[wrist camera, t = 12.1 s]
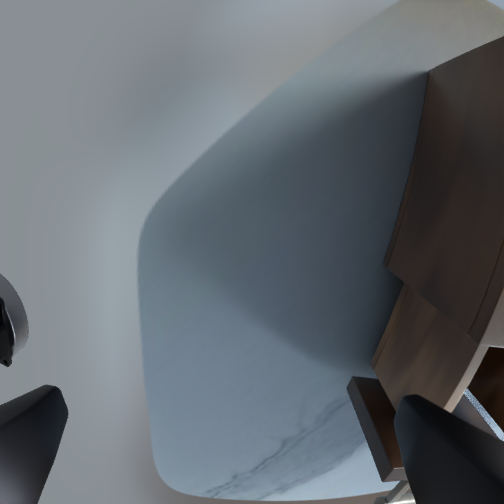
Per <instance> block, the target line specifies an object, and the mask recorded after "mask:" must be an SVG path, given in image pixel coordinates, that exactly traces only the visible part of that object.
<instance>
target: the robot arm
mask: <svg viewBox="0 0 504 504" xmlns="http://www.w3.org/2000/svg"><path fill="white" fill-rule="evenodd" d="M0 363H1V364H3V365H5V366H6V367H9V366H10V365H11V364H12V360H11V353H10V346H9V339H8V331H7V322H6V311H5V303H4V300H3V299H2V298H1V297H0ZM67 418H68V409H67V406H66V403H65V401H64V398H63V395H62V393H61V390H60V389H59V388H58V387H56V386H52V385H43V386H41V387H39V388H37V389H35V390H33V391H31V392H28V393H26V394H24V395H22V396H20V397H18V398H15V399H13V400H11V401H9V402H7V403H4V404H2V405H0V504H37V503H38V501H39V498H40V496H41V493H42V490H43V488H44V485H45V483H46V480H47V478H48V475H49V473H50V470H51V468H52V465H53V463H54V460H55V457H56V454H57V451H58V448H59V444H60V441H61V438H62V434H63V431H64V428H65V425H66V422H67ZM394 428H395V432H396V436H397V440H398V444H399V449H400V453H401V457H402V462H403V466H404V470H405V473H406V476H407V479H408V482H409V485H410V488H411V491H412V494H413V497H414V499H415V502H416V504H504V441H502V440H500V439H498V438H496V437H494V436H492V435H490V434H489V433H487V432H485V431H483V430H481V429H479V428H478V427H476V426H474V425H472V424H470V423H468V422H467V421H465V420H463V419H461V418H459V417H457V416H456V415H454V414H452V413H450V412H449V411H447V410H445V409H443V408H441V407H440V406H438V405H436V404H434V403H433V402H431V401H429V400H427V399H426V398H424V397H422V396H420V395H418V394H411V395H405V396H403V397H402V398H401V400H400V403H399V406H398V409H397V412H396V415H395V418H394Z"/></svg>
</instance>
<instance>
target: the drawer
mask: <svg viewBox="0 0 504 504" xmlns="http://www.w3.org/2000/svg"><path fill="white" fill-rule="evenodd" d="M370 365H371V367H372V369H373V370H374V372H375V374H376V376H377V378H378V379H373V378H364V377H356V376H352V378H351V380H350V382H349V384H348V386H347V391H348V394H349V396H350V399H351V402H352V404H353V407H354V409H355V412H356V414H357V417H358V419H359V422H360V425H361V427H362V430H363V432H364V435H365V438H366V440H367V443H368V446H369V448H370V451H371V454H372V456H373V459H374V462H375V464H376V467H377V470H378V472H379V475H380V478H381V481H382V482H390V481H400V482H399V483H398V484H397V485H396V487H395V488H394V489H393V490H392V491H391V492H390V493H389V494H388V495H387V496H382V497H378V498H377V499H376V500H375V502H374V504H416V502H415V499H414V497H413V494H412V493H409V494H404V493H405V492H406V491H407V490H408V489H409V488H410V485H409V482H408V479H407V476H406V473H405V470H404V466H403V462H402V457H401V453H400V449H399V444H398V440H397V436H396V432H395V428H394V418H395V415H396V412H397V409H398V406H399V403H400V400H401V398H402V397H403V396H405V395H411V394H418V395H420V396H422V397H424V398H426V399H427V400H429V401H431V402H433V403H434V404H436V405H438V406H440V407H441V408H443V409H445V410H447V411H449V412H450V413H452V414H454V415H456V416H457V417H459V418H461V419H463V420H465V421H467V422H468V423H470V424H472V425H474V426H476V427H478V428H479V429H481V430H483V431H485V432H487V433H489V434H490V435H492V436H494V437H496V438H498V437H497V435H496V434H495V433H494V431H493V430H492V429H491V427H490V426H489V425H488V424H487V422H486V421H485V420H484V418H483V417H482V416H481V415H480V413H479V412H478V411H477V410H476V408H475V407H474V406H473V405H472V403H471V402H470V401H469V400H468V398H467V397H466V396H465V395H464V392H465V390H466V388H468V390H469V391H470V392H471V393H472V394H473V395H474V397H475V398H476V399H477V400H478V401H479V403H480V404H481V405H482V406H483V407H484V409H485V410H486V411H487V412H488V414H489V415H490V416H491V417H492V418H493V420H494V421H495V422H496V423H497V425H498V426H499V427H500V428H501V430H502V431H503V432H504V348H499V347H491V346H484V345H478V344H477V343H476V342H474V341H473V340H472V339H471V338H470V337H469V336H467V335H466V334H465V333H464V332H463V331H462V330H461V329H459V328H458V327H457V326H456V325H455V324H454V323H452V322H451V321H450V320H449V319H448V318H447V317H446V316H444V315H443V314H442V313H441V312H440V311H438V310H437V309H436V308H435V307H434V306H433V305H431V304H430V303H429V302H428V301H427V300H425V299H424V298H423V297H422V296H420V295H419V294H418V293H417V292H416V291H414V290H413V289H412V288H411V287H409V286H408V285H407V284H406V283H405V282H404V283H403V286H402V289H401V291H400V294H399V297H398V299H397V302H396V304H395V307H394V309H393V312H392V314H391V317H390V319H389V322H388V324H387V326H386V329H385V331H384V333H383V336H382V338H381V340H380V343H379V345H378V347H377V349H376V351H375V354H374V356H373V358H372V360H371V362H370ZM498 439H499V438H498Z"/></svg>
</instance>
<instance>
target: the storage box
mask: <svg viewBox="0 0 504 504" xmlns="http://www.w3.org/2000/svg"><path fill="white" fill-rule="evenodd" d="M383 266H385V267H386V268H387V269H388V270H390V271H391V272H392V273H393V274H395V275H396V276H397V277H398V278H400V279H401V280H402V281H403V282H405V283H406V284H407V285H408V286H409V287H411V288H412V289H413V290H414V291H416V292H417V293H418V294H419V295H420V296H422V297H423V298H424V299H425V300H427V301H428V302H429V303H430V304H431V305H433V306H434V307H435V308H436V309H437V310H438V311H440V312H441V313H442V314H443V315H444V316H446V317H447V318H448V319H449V320H450V321H451V322H452V323H454V324H455V325H456V326H457V327H458V328H459V329H461V330H462V331H463V332H464V333H465V334H466V335H467V336H469V337H470V338H471V339H472V340H473V341H474V342H476V343H477V344H478V345H484V346H491V347H499V348H504V36H503V37H501V38H498V39H496V40H494V41H491V42H489V43H487V44H484V45H482V46H480V47H478V48H475V49H473V50H471V51H469V52H466V53H464V54H462V55H460V56H458V57H456V58H453V59H451V60H449V61H447V62H445V63H443V64H441V65H439V66H437V67H435V68H433V69H431V70H429V75H428V82H427V89H426V95H425V101H424V107H423V112H422V118H421V123H420V128H419V133H418V138H417V142H416V147H415V152H414V156H413V160H412V165H411V169H410V173H409V177H408V181H407V185H406V189H405V192H404V196H403V200H402V203H401V207H400V210H399V214H398V217H397V221H396V224H395V228H394V231H393V234H392V237H391V240H390V244H389V247H388V250H387V253H386V256H385V259H384V262H383Z"/></svg>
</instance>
